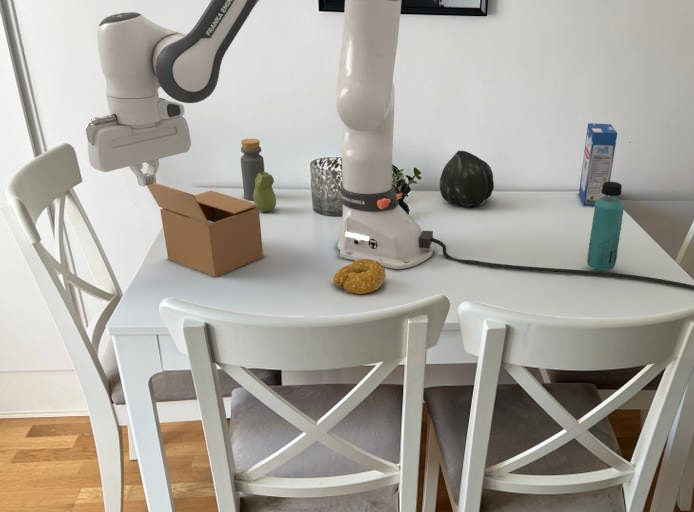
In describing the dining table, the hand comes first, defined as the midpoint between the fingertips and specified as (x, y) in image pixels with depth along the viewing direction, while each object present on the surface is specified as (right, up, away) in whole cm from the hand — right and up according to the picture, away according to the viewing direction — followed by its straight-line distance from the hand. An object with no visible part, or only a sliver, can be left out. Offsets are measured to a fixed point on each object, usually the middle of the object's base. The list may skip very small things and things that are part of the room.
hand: (147, 184), depth 144 cm
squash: (+63, +9, +59) cm, 87 cm away
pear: (+11, +4, +47) cm, 49 cm away
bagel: (+40, -19, +11) cm, 45 cm away
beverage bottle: (+92, -14, +23) cm, 96 cm away
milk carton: (+98, +10, +65) cm, 118 cm away
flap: (+3, -2, +7) cm, 8 cm away
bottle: (+6, +10, +56) cm, 58 cm away
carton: (+7, -12, +20) cm, 24 cm away
